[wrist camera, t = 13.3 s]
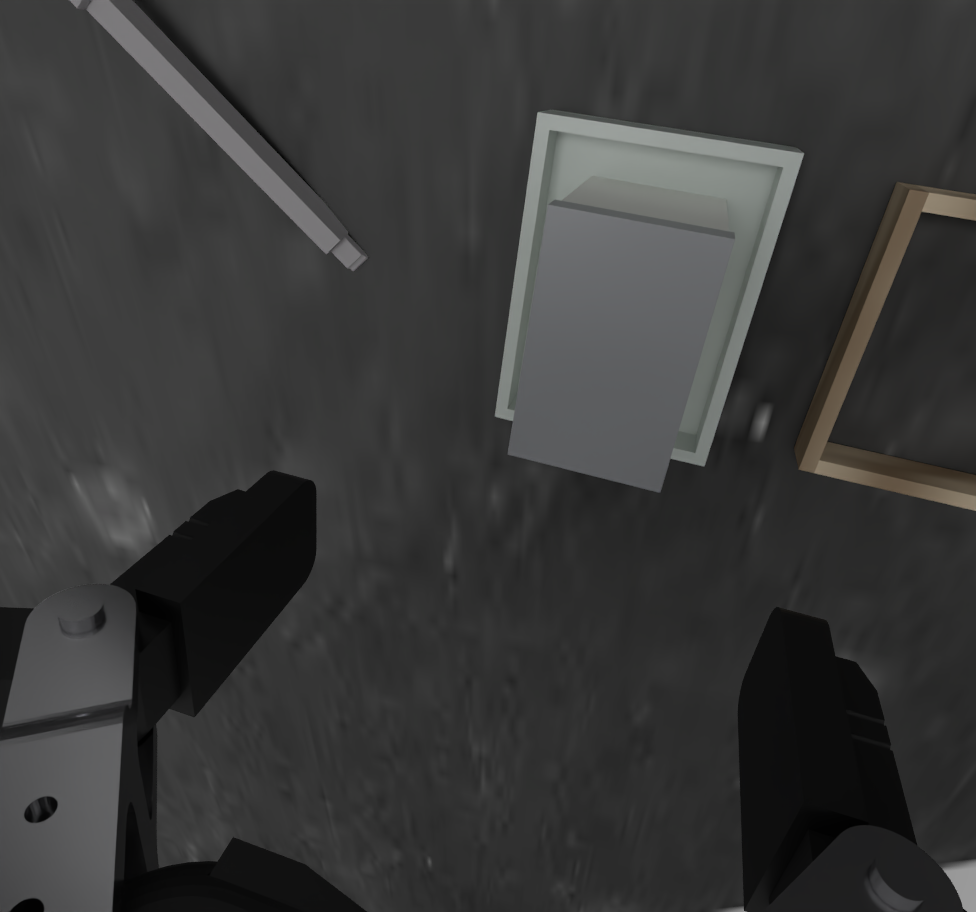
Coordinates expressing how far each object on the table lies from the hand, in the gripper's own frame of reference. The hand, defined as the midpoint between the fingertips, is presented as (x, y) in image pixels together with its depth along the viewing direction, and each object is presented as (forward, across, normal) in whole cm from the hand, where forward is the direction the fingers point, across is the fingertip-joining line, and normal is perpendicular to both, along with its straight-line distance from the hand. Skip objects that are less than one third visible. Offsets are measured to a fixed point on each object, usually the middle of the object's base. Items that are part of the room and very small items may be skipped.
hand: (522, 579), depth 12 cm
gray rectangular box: (+19, 0, 0) cm, 19 cm away
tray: (+20, 0, 0) cm, 20 cm away
